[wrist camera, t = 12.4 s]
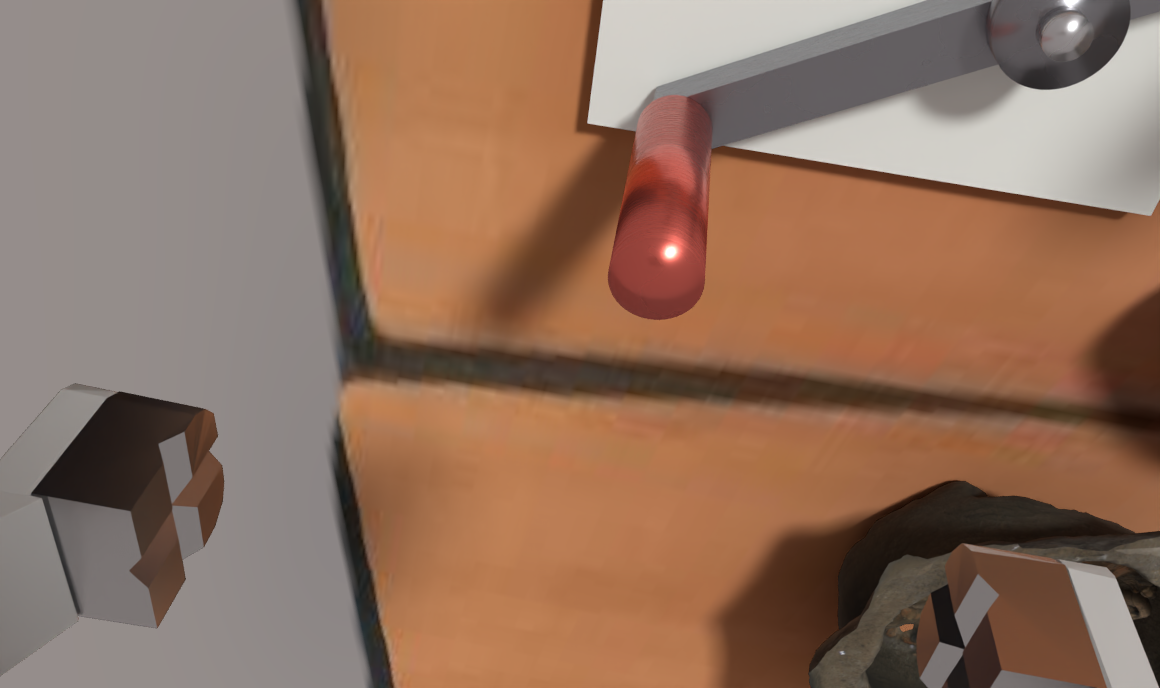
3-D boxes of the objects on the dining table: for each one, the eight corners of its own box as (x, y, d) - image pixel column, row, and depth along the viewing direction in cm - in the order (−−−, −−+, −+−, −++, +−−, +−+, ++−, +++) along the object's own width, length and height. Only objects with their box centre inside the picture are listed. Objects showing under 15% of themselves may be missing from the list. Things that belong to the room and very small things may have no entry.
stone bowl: (765, 441, 53) (785, 573, 46) (1273, 389, 49) (1387, 523, 42) (795, 719, 67) (814, 856, 59) (1194, 694, 63) (1268, 837, 56)
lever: (1216, -123, 34) (1429, -2, 23) (1220, 0, 36) (1415, 161, 26) (625, 72, 41) (585, 233, 30) (659, 165, 43) (634, 345, 32)
